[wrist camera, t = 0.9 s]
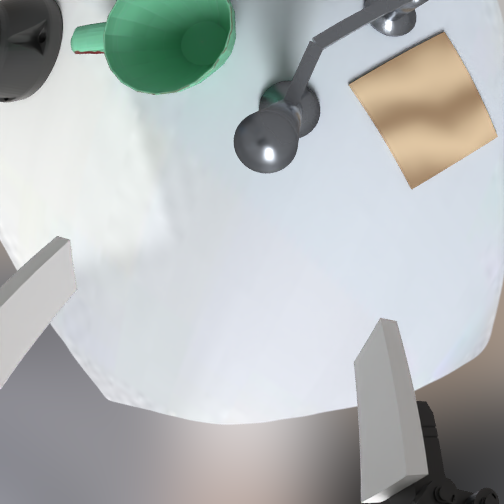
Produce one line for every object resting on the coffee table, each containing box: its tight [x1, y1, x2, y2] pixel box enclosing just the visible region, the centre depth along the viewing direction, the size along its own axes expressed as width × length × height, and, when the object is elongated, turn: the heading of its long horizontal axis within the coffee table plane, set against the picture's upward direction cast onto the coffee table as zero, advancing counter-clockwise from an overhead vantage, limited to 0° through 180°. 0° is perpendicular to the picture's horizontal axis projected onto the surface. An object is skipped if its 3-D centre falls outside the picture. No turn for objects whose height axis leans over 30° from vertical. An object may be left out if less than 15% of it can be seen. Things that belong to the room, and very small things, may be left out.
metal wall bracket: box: [234, 0, 428, 173], centre depth 17 cm, size 8×19×19 cm, turn 128°
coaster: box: [349, 32, 498, 189], centre depth 25 cm, size 12×12×1 cm
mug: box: [71, 0, 236, 95], centre depth 22 cm, size 15×10×10 cm
